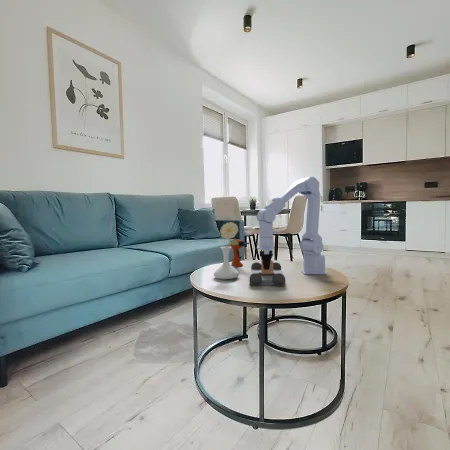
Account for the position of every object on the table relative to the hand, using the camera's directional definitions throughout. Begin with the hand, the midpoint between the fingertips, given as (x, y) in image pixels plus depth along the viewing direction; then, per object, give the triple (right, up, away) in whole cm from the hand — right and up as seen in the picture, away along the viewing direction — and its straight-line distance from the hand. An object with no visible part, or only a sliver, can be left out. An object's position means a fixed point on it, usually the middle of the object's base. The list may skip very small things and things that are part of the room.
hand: (266, 268), depth 120 cm
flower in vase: (-17, -5, +3) cm, 18 cm away
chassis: (0, -5, 0) cm, 5 cm away
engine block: (0, -2, 0) cm, 2 cm away
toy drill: (-10, -4, +26) cm, 28 cm away
